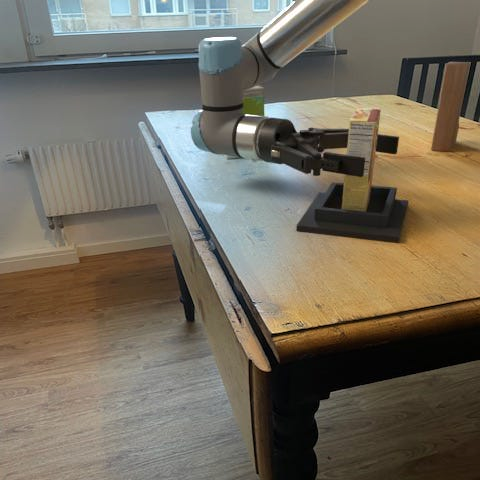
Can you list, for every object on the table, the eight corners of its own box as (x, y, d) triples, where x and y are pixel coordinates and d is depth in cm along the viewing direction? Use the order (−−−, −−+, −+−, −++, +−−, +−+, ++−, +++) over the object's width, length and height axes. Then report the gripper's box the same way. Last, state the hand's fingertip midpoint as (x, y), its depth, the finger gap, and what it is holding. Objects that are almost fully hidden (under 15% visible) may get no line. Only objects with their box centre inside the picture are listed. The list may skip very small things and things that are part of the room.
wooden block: (436, 140, 123) (451, 58, 113) (455, 142, 121) (472, 59, 111) (430, 150, 116) (445, 64, 106) (450, 152, 114) (468, 64, 104)
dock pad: (407, 205, 89) (410, 188, 87) (398, 243, 76) (401, 224, 75) (319, 196, 94) (319, 181, 92) (296, 231, 81) (296, 213, 79)
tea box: (206, 144, 127) (201, 80, 119) (243, 139, 130) (241, 77, 122) (226, 160, 115) (222, 90, 107) (266, 154, 118) (266, 86, 110)
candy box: (346, 198, 90) (354, 107, 81) (370, 200, 88) (381, 108, 80) (339, 217, 83) (348, 119, 74) (366, 219, 81) (377, 120, 73)
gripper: (301, 144, 100) (406, 159, 89) (226, 180, 83) (344, 203, 72) (302, 104, 95) (412, 115, 85) (224, 133, 79) (348, 151, 68)
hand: (381, 155), depth 79 cm, fingers open, 13 cm apart
